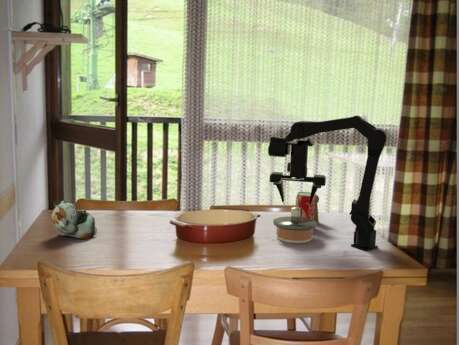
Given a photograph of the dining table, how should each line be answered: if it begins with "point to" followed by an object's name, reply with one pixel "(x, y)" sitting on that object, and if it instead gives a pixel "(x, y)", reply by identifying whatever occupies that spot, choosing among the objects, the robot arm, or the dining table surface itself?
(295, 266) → the dining table surface
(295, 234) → the bowl
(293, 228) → the lid
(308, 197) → the soda can
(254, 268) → the dining table surface
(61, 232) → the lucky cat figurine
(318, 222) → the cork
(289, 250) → the dining table surface
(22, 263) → the dining table surface
